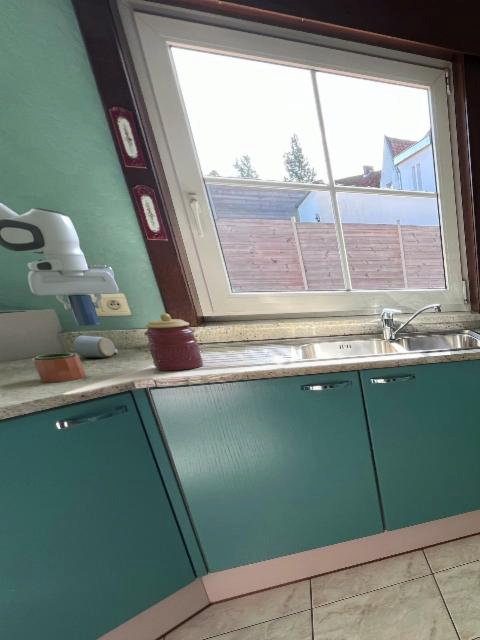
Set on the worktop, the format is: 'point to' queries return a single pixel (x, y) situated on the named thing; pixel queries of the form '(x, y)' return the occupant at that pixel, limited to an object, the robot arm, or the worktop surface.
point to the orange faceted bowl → (59, 367)
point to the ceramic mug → (94, 347)
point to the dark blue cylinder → (83, 310)
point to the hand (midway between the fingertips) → (83, 308)
